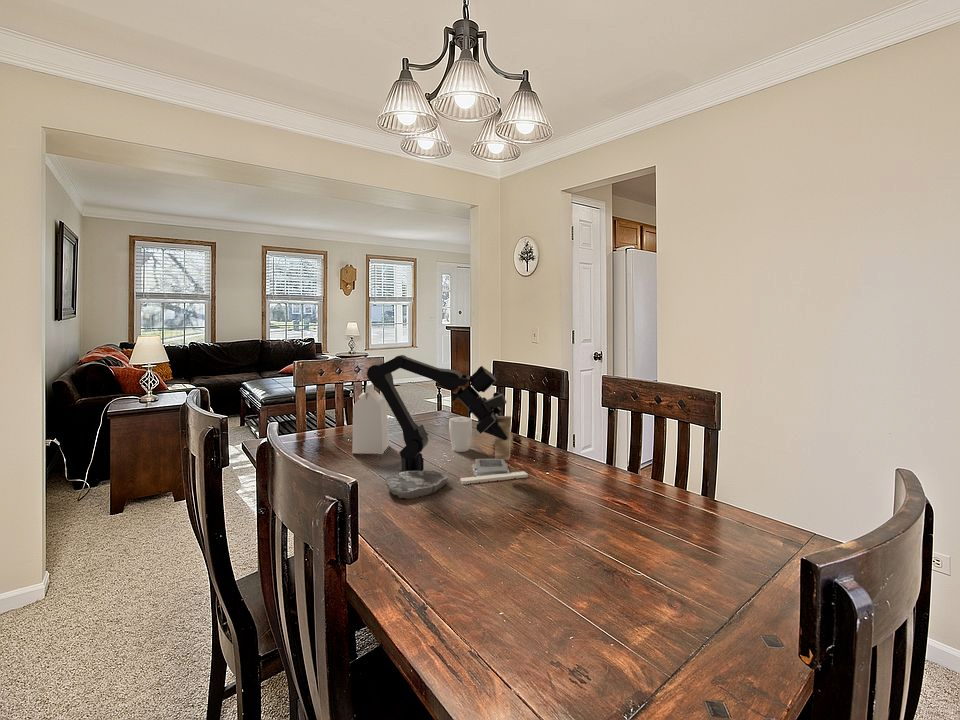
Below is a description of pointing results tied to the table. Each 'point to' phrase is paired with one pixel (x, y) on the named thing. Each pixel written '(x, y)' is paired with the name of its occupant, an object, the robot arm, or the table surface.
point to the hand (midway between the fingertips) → (507, 437)
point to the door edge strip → (493, 477)
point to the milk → (370, 423)
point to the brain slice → (415, 483)
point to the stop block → (502, 445)
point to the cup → (460, 433)
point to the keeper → (489, 467)
